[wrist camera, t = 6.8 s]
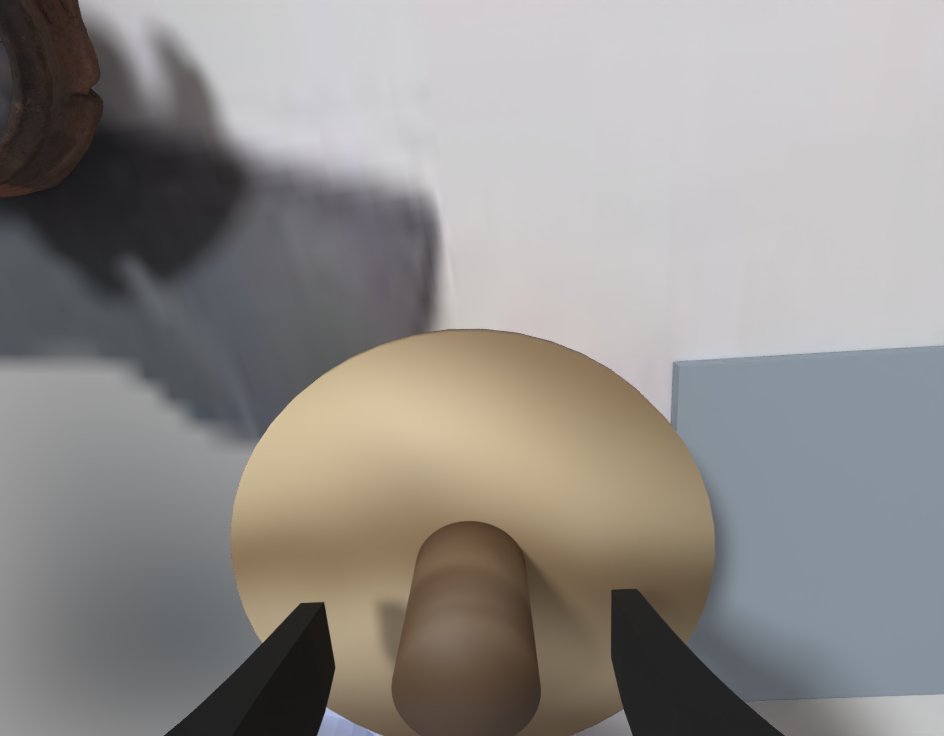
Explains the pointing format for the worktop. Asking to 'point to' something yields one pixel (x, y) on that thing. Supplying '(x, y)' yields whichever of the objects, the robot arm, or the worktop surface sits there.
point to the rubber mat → (821, 520)
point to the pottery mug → (46, 94)
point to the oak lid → (471, 531)
